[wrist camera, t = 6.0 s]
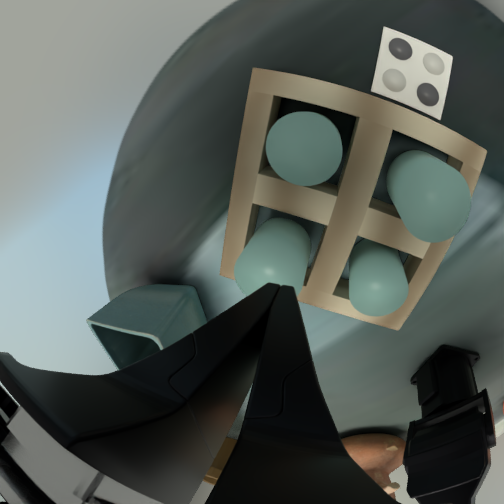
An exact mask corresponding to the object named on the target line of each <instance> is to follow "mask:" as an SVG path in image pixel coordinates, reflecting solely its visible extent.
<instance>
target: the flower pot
mask: <svg viewBox="0 0 504 504" xmlns="http://www.w3.org/2000/svg"><path fill="white" fill-rule="evenodd" d="M86 321H87V323H88V325H89V327H90V329H91V331H92V332H93V334H94V335H95V337H96V338H97V340H98V341H99V343H100V344H101V346H102V347H103V349H104V351H105V352H106V353H107V355H108V356H109V358H110V359H111V361H112V362H113V364H114V365H115V367H116V368H117V370H120V369H122V368H124V367H126V366H129V365H131V364H133V363H135V362H137V361H139V360H142V359H144V358H146V357H148V356H150V355H152V354H154V353H156V352H158V351H160V350H162V349H164V348H166V347H168V346H170V345H171V344H173V343H175V342H177V341H178V340H180V339H182V338H183V337H185V336H186V335H188V334H190V333H192V334H193V331H195V330H196V329H198V328H199V327H201V326H202V325H204V324H206V323H207V319H206V316H205V314H204V311H203V309H202V306H201V303H200V300H199V297H198V294H197V291H196V289H195V288H194V287H193V286H189V285H167V284H153V285H146V286H141V287H137V288H134V289H131V290H128V291H126V292H124V293H122V294H121V295H119V296H118V297H116V298H115V299H113V300H112V301H111V302H109V303H108V304H107V305H105V306H104V307H103V308H102V309H100V310H99V311H97V312H96V313H95V314H93V315H92V316H91V317H90V318H88V319H87V320H86Z"/></svg>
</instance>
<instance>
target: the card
mask: <svg viewBox="0 0 504 504" xmlns="http://www.w3.org/2000/svg"><path fill="white" fill-rule="evenodd" d="M452 59H453V57H452V56H451V55H449V54H447V53H445V52H443V51H441V50H439V49H437V48H435V47H433V46H431V45H429V44H426V43H424V42H422V41H420V40H417V39H415V38H413V37H410V36H408V35H405V34H403V33H400V32H398V31H395V30H392V29H390V28H387V27H383V32H382V38H381V43H380V49H379V54H378V59H377V64H376V69H375V74H374V78H373V83H372V87H371V92H374V93H377V94H379V95H382V96H385V97H388V98H390V99H393V100H395V101H398V102H400V103H403V104H405V105H408V106H410V107H412V108H415V109H417V110H419V111H421V112H424V113H426V114H428V115H430V116H432V117H434V118H436V119H438V120H440V119H441V115H442V111H443V107H444V102H445V98H446V93H447V88H448V83H449V77H450V72H451V65H452Z"/></svg>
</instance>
